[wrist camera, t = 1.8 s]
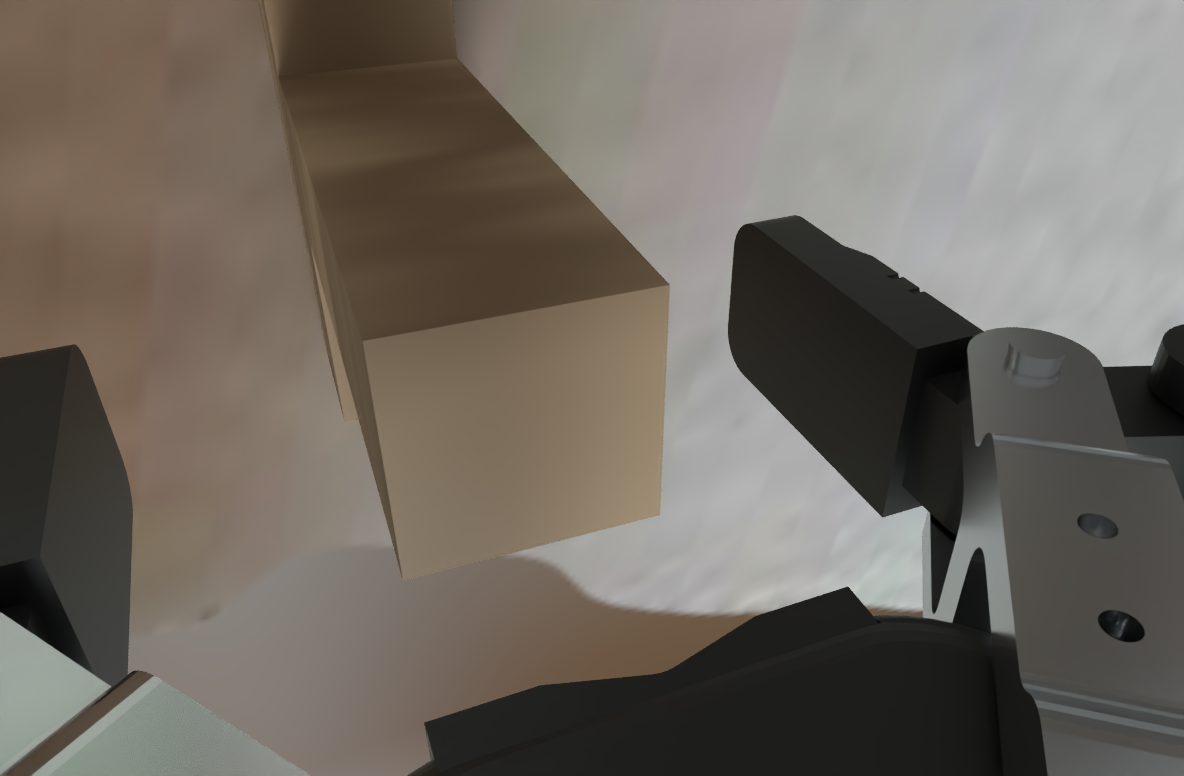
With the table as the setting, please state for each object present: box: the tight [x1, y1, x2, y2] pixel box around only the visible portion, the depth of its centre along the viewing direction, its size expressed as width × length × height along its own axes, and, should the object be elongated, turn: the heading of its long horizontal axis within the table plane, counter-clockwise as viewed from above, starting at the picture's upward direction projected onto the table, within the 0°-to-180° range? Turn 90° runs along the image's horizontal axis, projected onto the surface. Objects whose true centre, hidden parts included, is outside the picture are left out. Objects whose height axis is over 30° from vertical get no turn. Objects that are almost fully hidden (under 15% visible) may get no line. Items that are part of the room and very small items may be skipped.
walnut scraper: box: [258, 0, 670, 581], centre depth 14 cm, size 3×11×12 cm, turn 0°
